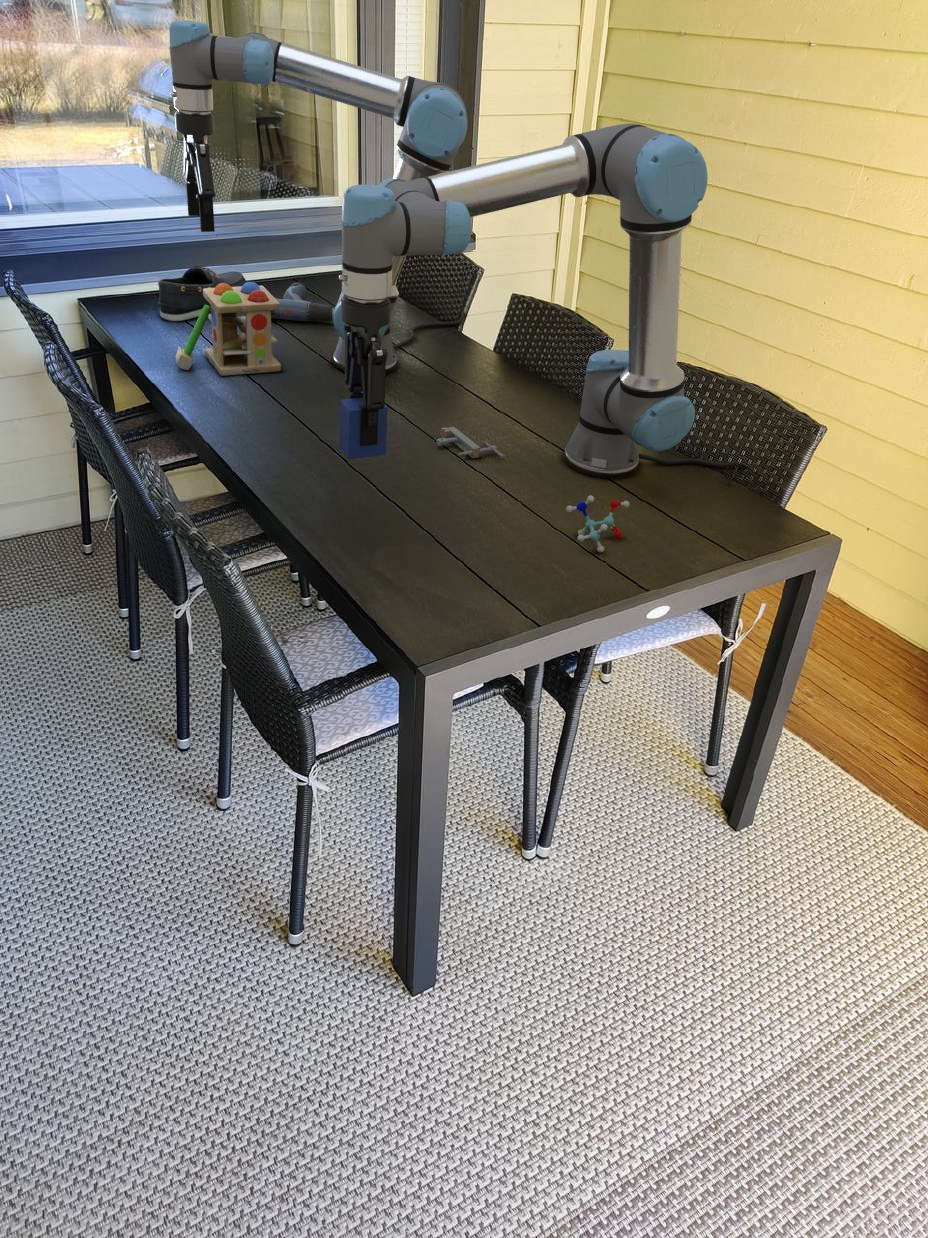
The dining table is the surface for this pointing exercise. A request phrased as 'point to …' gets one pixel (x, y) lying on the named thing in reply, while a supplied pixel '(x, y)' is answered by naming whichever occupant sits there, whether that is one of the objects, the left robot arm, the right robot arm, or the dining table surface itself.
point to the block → (351, 430)
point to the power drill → (301, 307)
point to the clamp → (464, 443)
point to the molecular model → (591, 523)
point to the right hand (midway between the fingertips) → (362, 437)
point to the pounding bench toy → (229, 347)
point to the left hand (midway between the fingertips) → (201, 223)
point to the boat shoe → (191, 292)
